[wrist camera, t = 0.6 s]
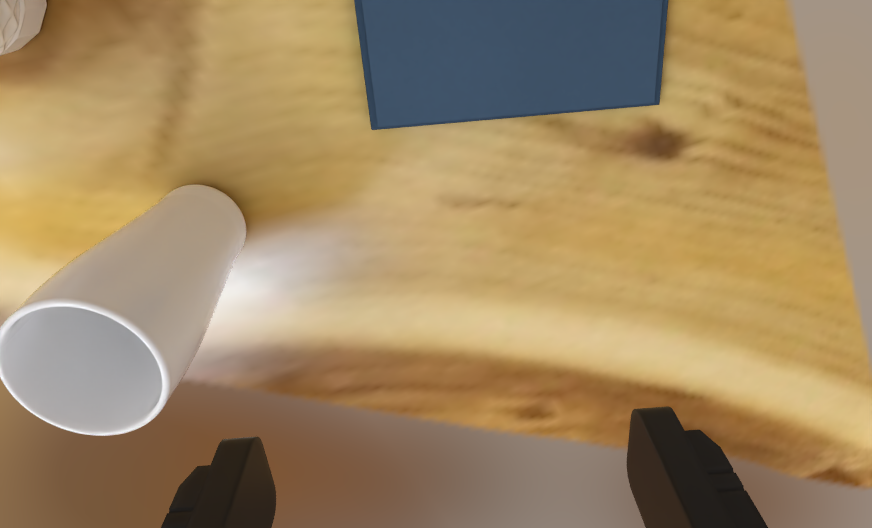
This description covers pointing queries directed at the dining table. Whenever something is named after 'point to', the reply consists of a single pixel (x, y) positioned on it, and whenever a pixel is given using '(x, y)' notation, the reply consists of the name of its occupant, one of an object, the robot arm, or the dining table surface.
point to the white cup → (19, 23)
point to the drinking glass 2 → (124, 316)
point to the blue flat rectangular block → (507, 58)
